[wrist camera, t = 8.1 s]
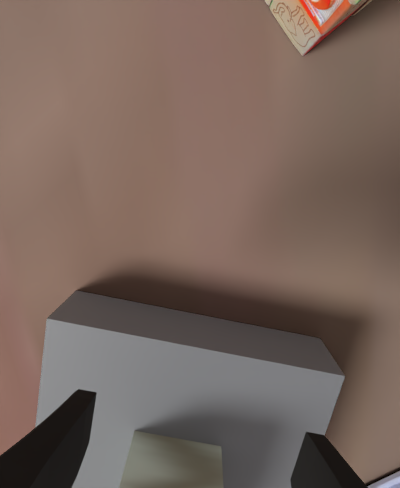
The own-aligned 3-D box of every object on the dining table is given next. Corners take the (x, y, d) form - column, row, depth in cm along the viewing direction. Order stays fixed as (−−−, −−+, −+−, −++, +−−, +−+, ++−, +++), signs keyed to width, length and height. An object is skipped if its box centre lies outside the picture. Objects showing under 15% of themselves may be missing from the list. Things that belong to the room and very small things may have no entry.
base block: (320, 338, 22) (345, 376, 18) (260, 525, 25) (270, 590, 21) (76, 290, 21) (46, 318, 17) (51, 488, 25) (22, 548, 21)
